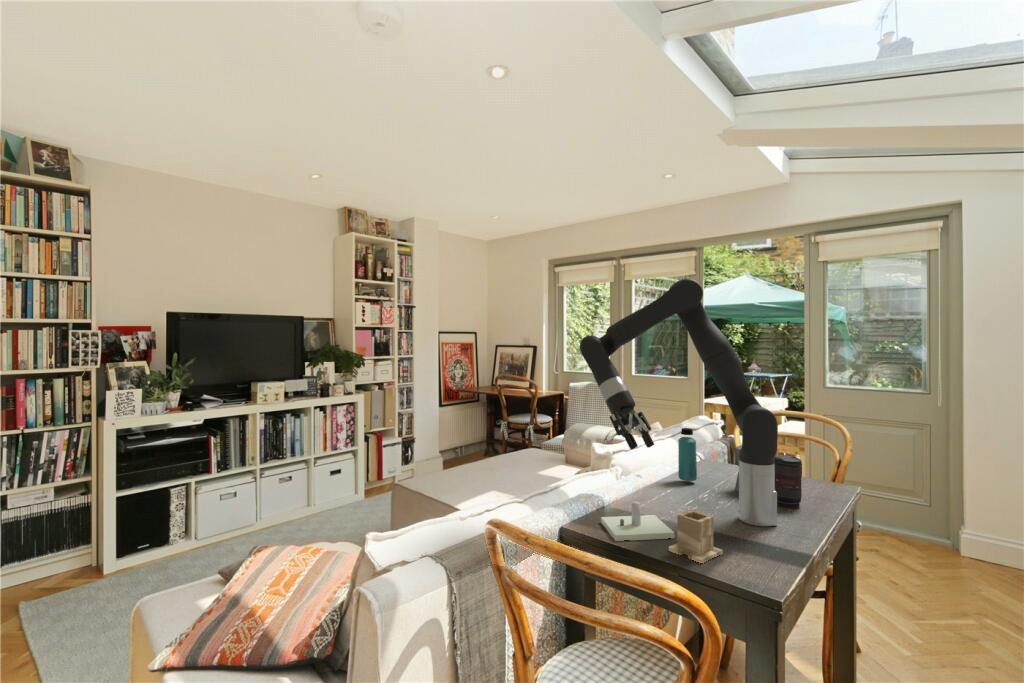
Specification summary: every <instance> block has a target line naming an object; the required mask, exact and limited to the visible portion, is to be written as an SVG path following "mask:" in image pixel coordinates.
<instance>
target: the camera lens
mask: <svg viewBox="0 0 1024 683" xmlns="http://www.w3.org/2000/svg"><path fill="white" fill-rule="evenodd" d="M802 462H803V461H802V459H801V458H800V457H796V456H791V455H783V454H782V455H781V454H779V455H778V454H776V456H775V491H776V492H777V507H782V508H787V509H797V508H800V505H801V504H800V503H801V502H802V497H803V496H802V495H803V493H802V477H803V463H802Z"/></svg>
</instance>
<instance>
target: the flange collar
mask: <svg viewBox="0 0 1024 683" xmlns="http://www.w3.org/2000/svg"><path fill="white" fill-rule="evenodd" d="M676 516H677V524H676V526H677V531H676V532H677V533H676V534H677V542H676V543H674V544H672V545H670V546H668V551H669V552H671V553H673V554H675V553H676V555H678V554H679V555H678V556H680V555H682V556H684V555H685V554H686V555H685V556H687V555H688V556H687V558H689V559H688V560H690V559H691V560H690V561H692V560H694V561H693V562H695V561H696V562H695V563H697V562H699V563H698V564H700V563H703V564H705V563H707V562H709V561H711V560H713V559H712V558H714V557H716V558H717V556H718V557H719V555H720V556H722V555H723V552H724V551H723V549H720V548H718V547H715V546H714V516H712V515H708V514H706V513H702V512H700V511H699V512H698V511H696V510H693V509H691V510H688V511H684V512H682V513H679V514H677V515H676ZM683 554H684V555H683ZM710 559H711V560H710ZM714 559H715V558H714ZM708 560H709V561H708ZM706 561H707V562H706ZM704 562H705V563H704Z"/></svg>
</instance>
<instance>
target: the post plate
mask: <svg viewBox="0 0 1024 683" xmlns="http://www.w3.org/2000/svg"><path fill="white" fill-rule="evenodd" d="M641 509H642V508H641V502H640V501H632V502H631V515H624V516H601V517H600V523H601V525H602V526H603V527H604V528H605V530H606V531H607V532H608V534H610V536H611V537H612V538H613V540H614V541H615V542H622V541H623V542H625V541H624V540H630V541H648V540H665V539H666V540H668V538H671V539H675V531H673V530H672V529H671V528H670V527H668V525H667V524H665V523H664V522H663V521H662V520H661V519H660V518H659V517H657V515H655V514H649V515H648V514H647V515H642V514H641V512H642V510H641Z"/></svg>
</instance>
